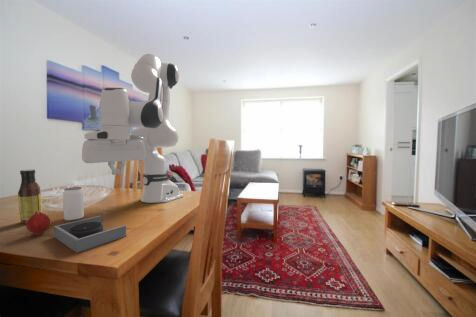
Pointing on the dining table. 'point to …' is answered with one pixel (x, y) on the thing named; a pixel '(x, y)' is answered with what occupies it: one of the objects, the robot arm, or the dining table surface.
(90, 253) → the dining table surface
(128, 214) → the dining table surface
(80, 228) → the smart speaker
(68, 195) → the can
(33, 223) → the onion
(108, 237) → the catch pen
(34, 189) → the sauce bottle
